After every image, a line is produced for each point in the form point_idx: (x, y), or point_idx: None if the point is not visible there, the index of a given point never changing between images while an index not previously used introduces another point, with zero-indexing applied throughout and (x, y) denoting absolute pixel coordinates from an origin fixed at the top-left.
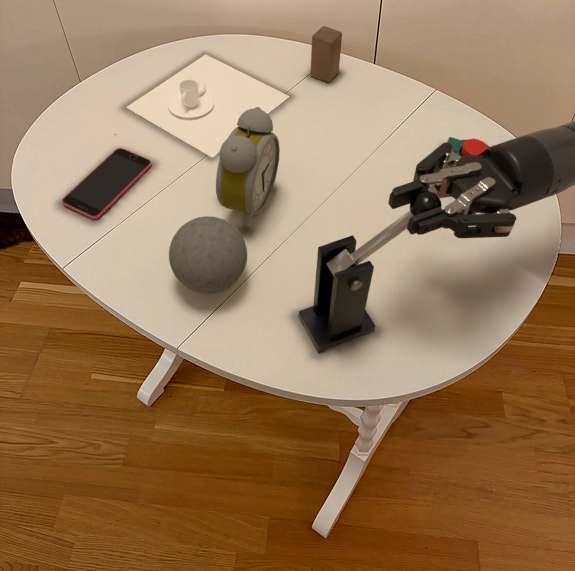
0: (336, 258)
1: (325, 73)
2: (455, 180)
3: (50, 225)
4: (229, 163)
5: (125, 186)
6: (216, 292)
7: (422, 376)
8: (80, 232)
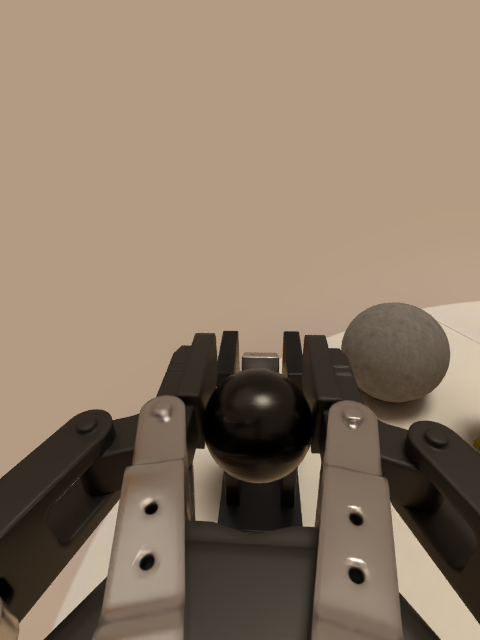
0: (272, 354)
1: None
2: (309, 544)
3: (473, 309)
4: None
5: None
6: None
7: (97, 568)
8: (464, 321)
